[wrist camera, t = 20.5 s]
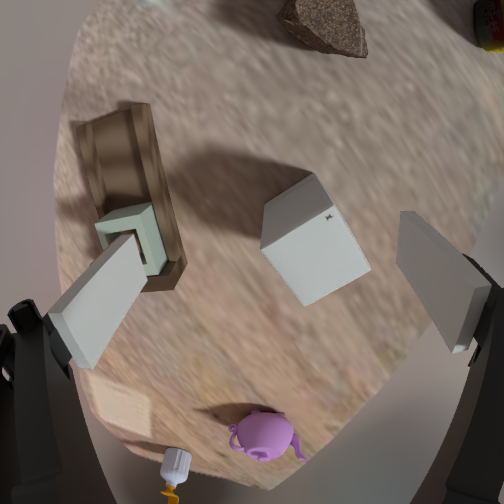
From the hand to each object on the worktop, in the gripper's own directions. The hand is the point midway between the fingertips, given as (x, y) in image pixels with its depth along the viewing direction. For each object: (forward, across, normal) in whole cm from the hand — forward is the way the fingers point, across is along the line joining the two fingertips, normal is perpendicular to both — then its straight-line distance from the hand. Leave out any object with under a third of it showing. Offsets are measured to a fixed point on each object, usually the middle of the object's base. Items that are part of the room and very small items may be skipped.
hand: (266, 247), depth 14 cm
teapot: (+29, -6, -62) cm, 69 cm away
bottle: (+29, +39, +24) cm, 54 cm away
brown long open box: (+29, -21, -3) cm, 36 cm away
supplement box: (+29, +4, -9) cm, 31 cm away
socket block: (+27, -21, -9) cm, 35 cm away
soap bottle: (+29, -39, -89) cm, 101 cm away
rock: (+29, +8, +18) cm, 36 cm away
